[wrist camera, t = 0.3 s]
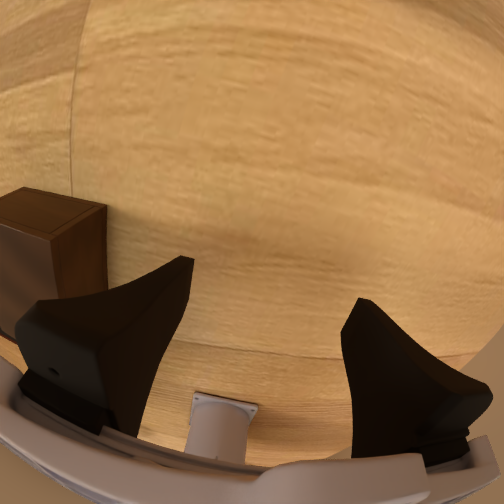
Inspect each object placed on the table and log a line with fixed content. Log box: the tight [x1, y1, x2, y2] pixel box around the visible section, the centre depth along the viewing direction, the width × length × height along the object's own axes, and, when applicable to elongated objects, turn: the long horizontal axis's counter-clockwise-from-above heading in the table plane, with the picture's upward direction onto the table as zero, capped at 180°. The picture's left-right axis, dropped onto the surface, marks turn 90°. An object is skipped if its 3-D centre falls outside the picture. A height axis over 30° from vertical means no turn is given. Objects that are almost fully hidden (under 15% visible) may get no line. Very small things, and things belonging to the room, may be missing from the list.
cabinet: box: [0, 187, 108, 339], centre depth 20 cm, size 14×12×8 cm
